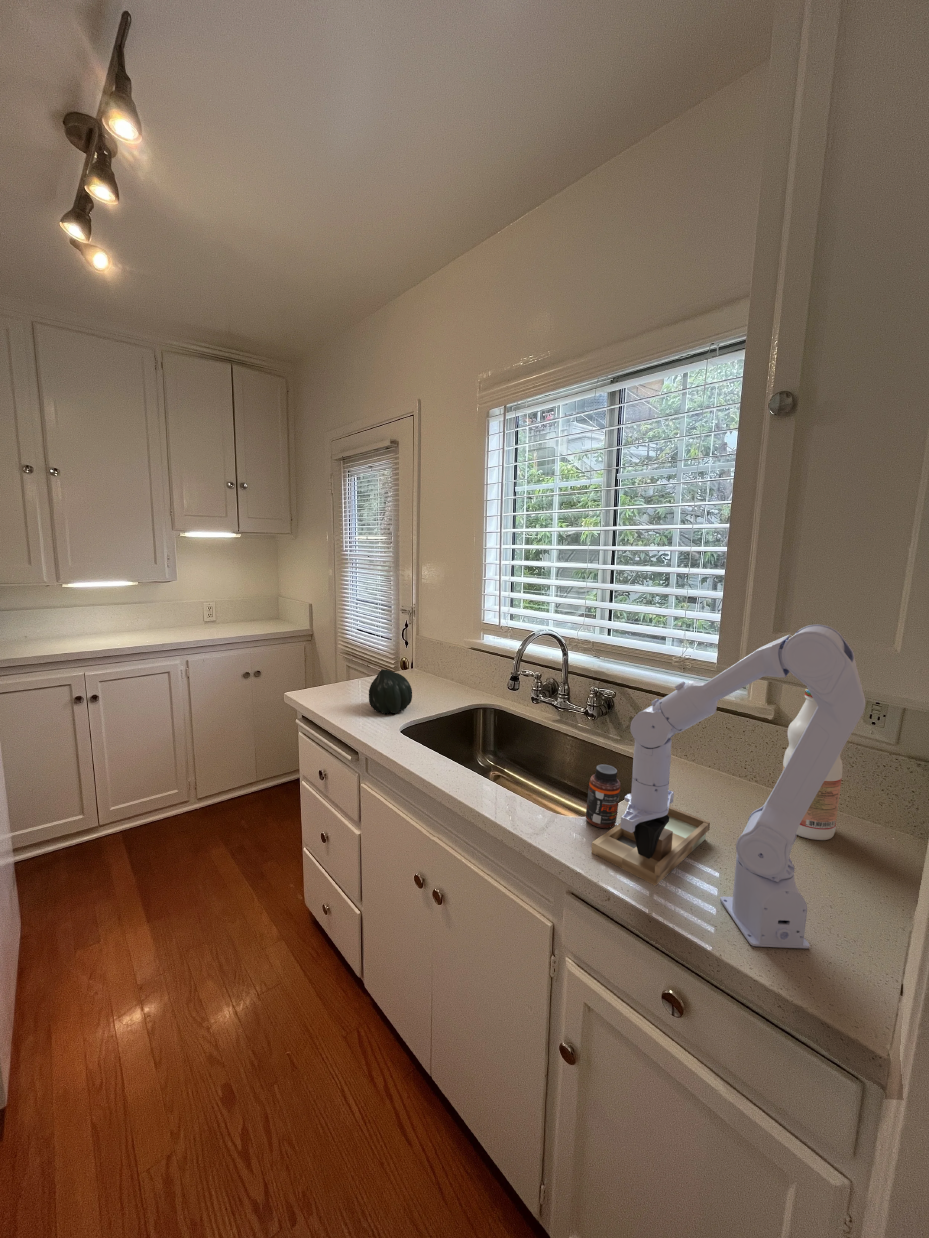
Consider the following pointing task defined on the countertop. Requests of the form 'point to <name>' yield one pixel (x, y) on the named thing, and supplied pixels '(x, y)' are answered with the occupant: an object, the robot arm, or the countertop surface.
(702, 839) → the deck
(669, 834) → the walnut block
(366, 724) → the countertop surface
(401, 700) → the squash
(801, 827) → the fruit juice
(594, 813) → the supplement bottle
